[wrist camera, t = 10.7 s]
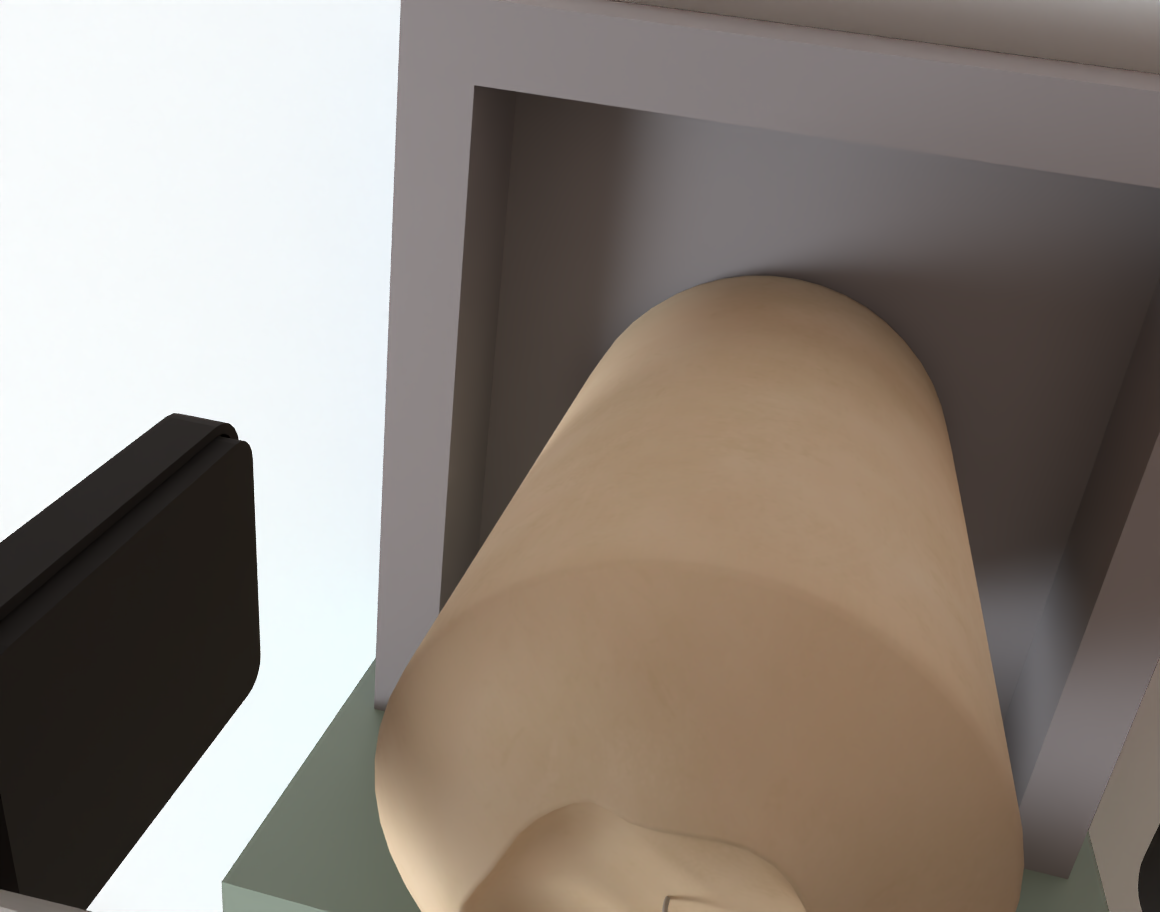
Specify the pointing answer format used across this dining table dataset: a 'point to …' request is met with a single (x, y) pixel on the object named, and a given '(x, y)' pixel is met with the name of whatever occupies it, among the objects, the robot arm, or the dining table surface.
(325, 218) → the dining table surface
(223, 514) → the robot arm
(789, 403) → the candle
